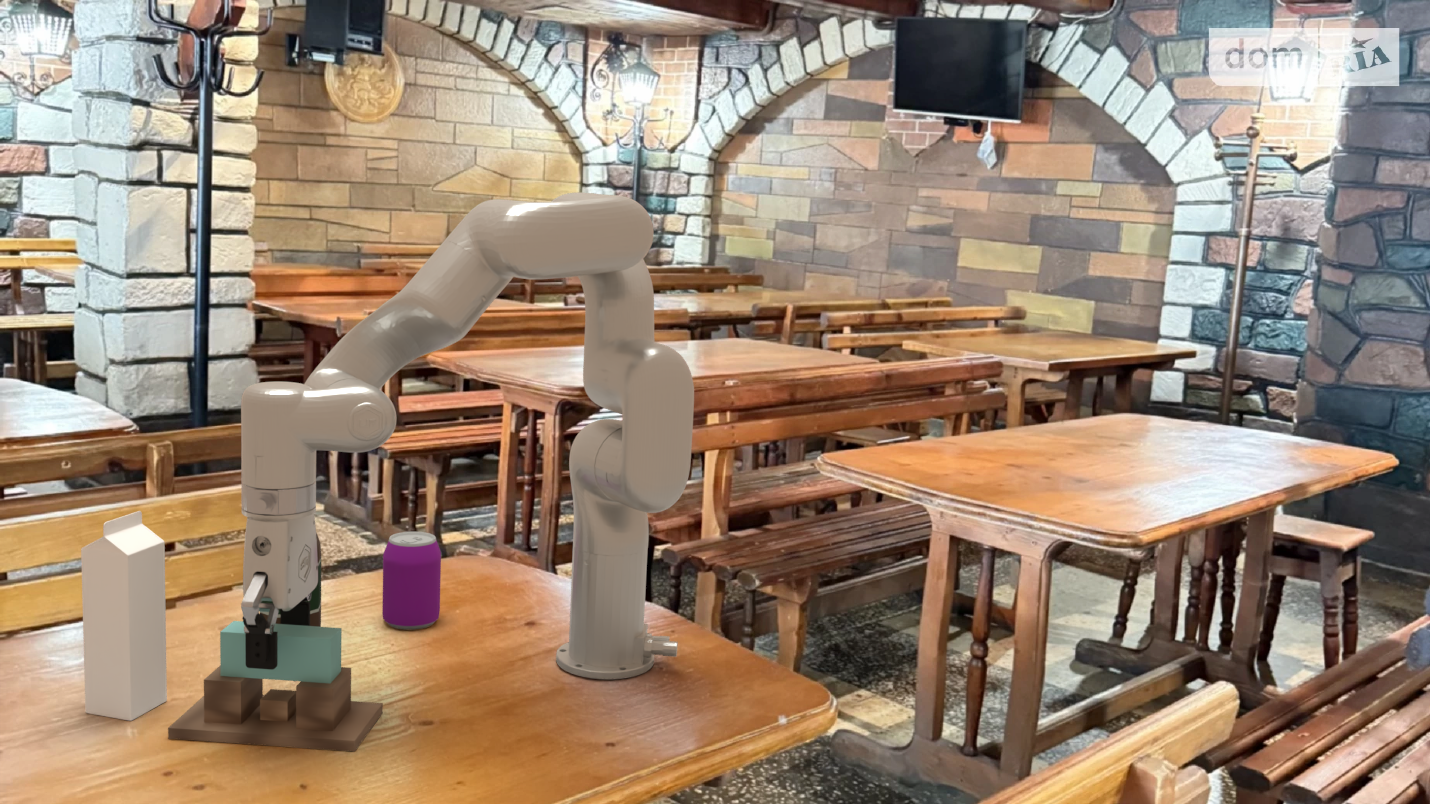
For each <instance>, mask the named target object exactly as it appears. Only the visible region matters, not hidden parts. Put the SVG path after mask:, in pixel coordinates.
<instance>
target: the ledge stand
mask: <svg viewBox="0 0 1430 804" xmlns="http://www.w3.org/2000/svg"><path fill="white" fill-rule="evenodd" d="M263 680H264V679H258V678H244V677H229V676H221V669H220V665H219V666H217V668H215V669H214V670H213V671H212V672H211V673H210V674H208V675H207V676H206V677H205V678H204V679H203V696H202V697H201V698H200V699H199V700H197V701H196V702H195V703H194V704H193V705H192V706H190V708H189V709H187V710H186V711H185V712H184V713H183V714H182V715H181V716H179V717H178V719H176V720H175V721H174V722H173V723H172V724H171V725H170V726H169V727H168V728H167V737H168V739H169V740H170V739H171V740H185V741H196V742H197V741H199V742H213V743H227V744H228V743H229V744H244V745H256V746H257V745H258V746H270V747H283V748H284V747H285V748H300V749H313V750H314V749H315V750H325V751H328V750H329V751H342V752H354V753H355V752H356V750H357V749H358V747H359V746H360V745H361V744H362V742H363V741H364V740H365V738H366V736H368V734H369V733H370V731H371V730H372V728H373V727H375V726H374V725H375V724H377V721H378V720H379V719H380V717H381V716H382V715H383V709H384V708H383V706H384V703H383V702H373V701H372V702H371V701H356V700H352V667H348V666H346V667H345V666H344V667H343V666H341V672H340V673H339V674H338V676H337V677H336V678H335V679H334V680H333V681H332V682H331V683H316V682H301V681H299V682H298V683H297V684H296V686H295V690H290V689H287V690H286V689H276V688H275V689H273V688H270V689H269V690H268V691H267V692H266V693H265V694H263V693H264V692H263V690H264V689H263V688H264V685H263V684H264V683H263V682H264V681H263Z"/></svg>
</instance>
